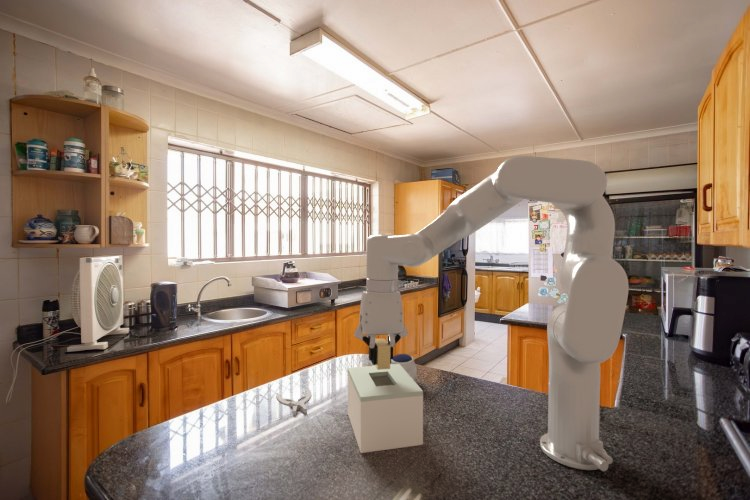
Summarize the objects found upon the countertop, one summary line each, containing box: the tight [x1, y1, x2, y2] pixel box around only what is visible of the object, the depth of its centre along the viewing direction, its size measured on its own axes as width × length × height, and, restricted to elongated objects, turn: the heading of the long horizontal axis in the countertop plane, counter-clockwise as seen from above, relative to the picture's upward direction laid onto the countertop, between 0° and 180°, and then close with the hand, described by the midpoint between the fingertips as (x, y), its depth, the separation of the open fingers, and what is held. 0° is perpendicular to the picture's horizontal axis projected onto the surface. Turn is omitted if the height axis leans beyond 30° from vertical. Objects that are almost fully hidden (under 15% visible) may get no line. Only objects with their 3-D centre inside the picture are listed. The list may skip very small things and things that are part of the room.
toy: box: [366, 353, 418, 381], centre depth 111 cm, size 18×9×20 cm
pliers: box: [276, 388, 312, 416], centre depth 101 cm, size 10×2×15 cm
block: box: [375, 337, 391, 370], centre depth 87 cm, size 6×3×6 cm, turn 13°
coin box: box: [347, 364, 424, 454], centre depth 87 cm, size 18×14×12 cm
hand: (380, 361), depth 87 cm, fingers closed on block, 3 cm apart
